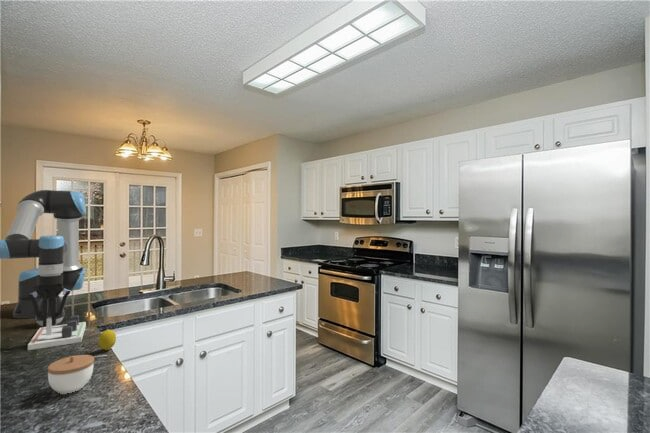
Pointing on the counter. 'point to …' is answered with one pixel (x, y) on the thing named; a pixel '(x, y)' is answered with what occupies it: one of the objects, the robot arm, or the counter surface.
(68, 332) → the switch
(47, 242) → the robot arm
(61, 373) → the lidded jar
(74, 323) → the block
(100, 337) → the lemon
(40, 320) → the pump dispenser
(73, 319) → the block
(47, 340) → the breaker panel
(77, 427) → the counter surface
